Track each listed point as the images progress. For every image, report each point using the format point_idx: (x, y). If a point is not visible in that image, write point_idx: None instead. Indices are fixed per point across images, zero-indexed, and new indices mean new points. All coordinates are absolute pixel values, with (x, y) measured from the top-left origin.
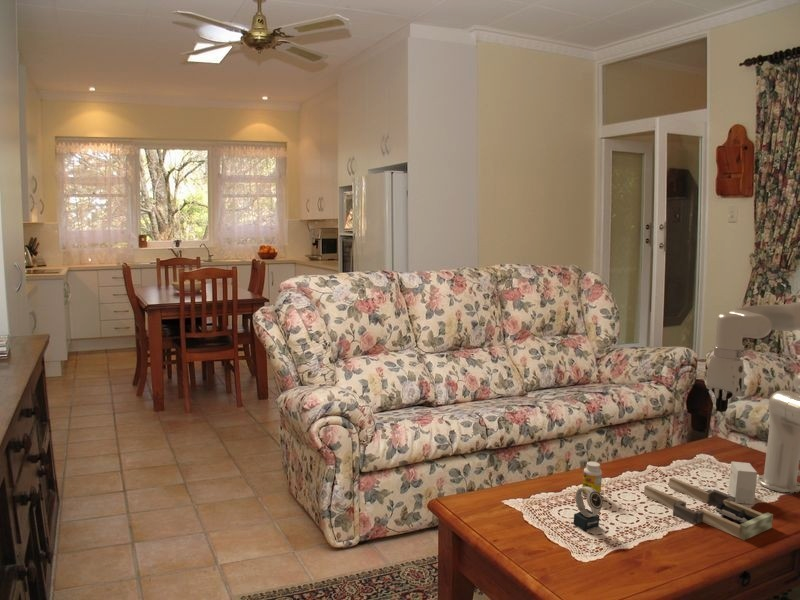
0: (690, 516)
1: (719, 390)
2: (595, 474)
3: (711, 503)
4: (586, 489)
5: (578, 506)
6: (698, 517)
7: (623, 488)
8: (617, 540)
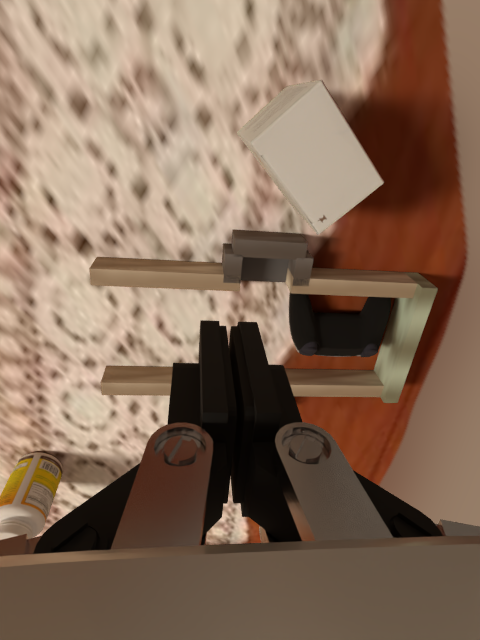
0: None
1: (141, 537)
2: (40, 531)
3: (248, 276)
4: None
5: None
6: None
7: (43, 383)
8: (218, 538)
